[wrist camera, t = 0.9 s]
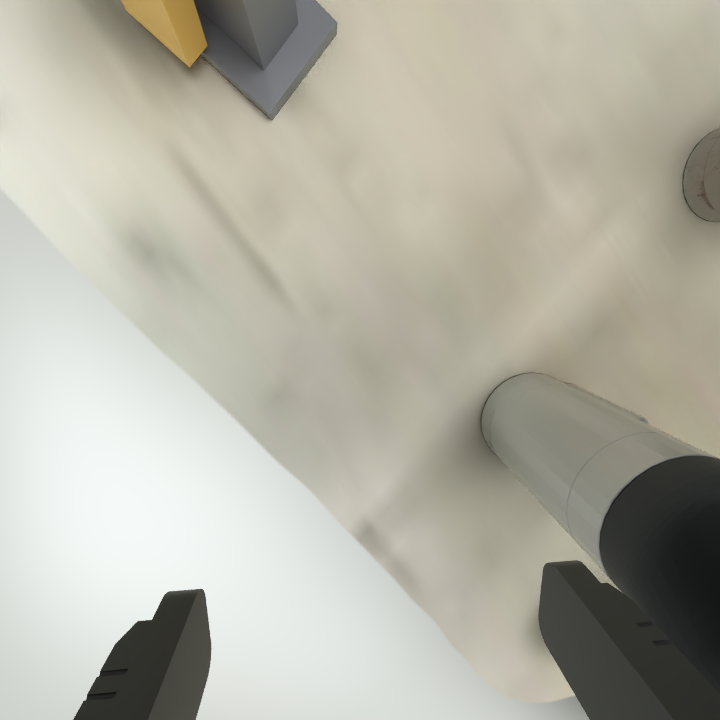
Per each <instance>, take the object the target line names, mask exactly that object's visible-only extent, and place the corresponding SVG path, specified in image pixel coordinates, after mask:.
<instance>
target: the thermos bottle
mask: <svg viewBox="0 0 720 720" xmlns="http://www.w3.org/2000/svg"><path fill="white" fill-rule="evenodd" d="M683 188H684V194H685V198H686V200H687V203H688V205H689V207H690V208H691V209H692V210H693V212H694V213H696V214H697V215H698V216H699V217H701V218H703V219H705V220H708V221H714V222H720V128H719V129H717V130H715V131H713V132H711V133H710V134H708V135H707V136H706V137H704V138H703V139H702V141H701V142H700V143H699V144H698V145H697V146H696V147H695V149H694V150H693V152H692V153H691V155H690V157H689V160H688V162H687V165H686V168H685V171H684V179H683Z"/></svg>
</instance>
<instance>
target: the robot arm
mask: <svg viewBox="0 0 720 720" xmlns="http://www.w3.org/2000/svg"><path fill="white" fill-rule="evenodd" d="M481 425H482V433H483V436H484V438H485V441H486V442H487V444H488V445H489V447H490V448H491V449H492V451H493V452H494V453H495V454H496V455H497V456H498V457H499V458H500V459H501V460H502V461H503V463H504V464H505V465H506V466H507V467H508V468H509V469H510V470H511V471H512V473H513V474H514V475H515V476H516V477H517V478H518V479H519V480H520V481H521V482H522V483H523V485H524V486H525V487H526V488H527V489H528V490H529V491H530V492H531V493H532V494H533V495H534V497H535V498H536V499H537V500H538V501H539V502H540V503H541V504H542V505H543V506H544V507H545V509H546V510H547V511H548V512H549V513H550V514H551V515H552V516H553V517H554V518H555V519H556V521H557V522H558V523H559V524H560V525H561V526H562V527H563V528H564V529H565V530H566V531H567V533H568V534H569V535H570V536H571V537H572V538H573V539H574V540H575V541H576V542H577V543H578V545H579V546H580V547H581V548H582V549H583V550H584V551H585V552H586V553H587V554H588V555H589V556H590V557H591V558H592V560H593V561H594V562H595V563H596V564H597V565H598V566H599V567H600V568H601V569H602V570H603V572H604V573H605V574H606V575H607V576H608V577H609V578H610V579H611V580H612V581H613V583H614V584H615V585H616V586H617V587H618V588H619V589H620V590H621V592H620V591H619V590H617V589H616V588H614V587H613V586H611V585H610V584H608V583H600V582H599V581H598V580H597V578H596V577H595V576H594V575H593V574H592V573H591V572H590V571H589V569H588V568H587V567H586V566H585V565H584V564H583V563H582V562H580V561H564V562H551V563H546V564H545V566H544V568H543V576H542V585H541V595H540V605H539V625H540V630H541V633H542V636H543V639H544V641H545V644H546V646H547V648H548V649H549V651H550V653H551V654H552V656H553V658H554V660H555V661H556V663H557V665H558V666H559V668H560V670H561V671H562V673H563V675H564V676H565V678H566V680H567V682H568V683H569V685H570V687H571V688H572V690H573V692H574V693H575V695H576V697H577V699H578V700H579V702H580V703H581V705H582V707H583V709H584V710H585V712H586V714H587V716H588V717H589V719H590V720H720V459H719V458H717V457H714V456H712V455H710V454H708V453H706V452H704V451H702V450H700V449H698V448H696V447H694V446H692V445H690V444H688V443H686V442H684V441H681V440H679V439H677V438H675V437H673V436H671V435H669V434H667V433H665V432H663V431H660V430H658V429H656V428H654V427H652V426H650V425H649V423H648V421H647V420H646V419H645V418H644V417H642V416H639V415H637V414H635V413H633V412H631V411H629V410H627V409H625V408H622V407H620V406H618V405H616V404H614V403H612V402H610V401H608V400H605V399H603V398H601V397H599V396H597V395H595V394H593V393H590V392H588V391H586V390H584V389H582V388H580V387H578V386H576V385H573V384H565V383H562V382H560V381H558V380H556V379H554V378H552V377H550V376H547V375H544V374H538V373H526V374H521V375H518V376H514V377H512V378H510V379H509V380H507V381H505V382H504V383H502V384H501V385H500V386H499V387H497V388H496V389H495V391H494V392H493V393H492V394H491V395H490V397H489V399H488V400H487V402H486V404H485V407H484V410H483V413H482V421H481ZM210 660H211V639H210V630H209V622H208V614H207V606H206V597H205V593H204V590H203V589H196V590H184V591H170V592H167V593H166V594H165V595H164V597H163V599H162V601H161V603H160V605H159V607H158V609H157V611H156V613H155V615H154V617H153V619H152V620H147V621H138V622H137V623H136V624H135V625H134V626H133V627H132V628H131V629H130V630H129V631H128V632H127V633H126V634H125V635H124V636H123V637H122V638H121V639H120V640H119V641H118V642H117V643H116V644H115V646H114V647H113V649H112V651H111V653H110V655H109V656H108V658H107V660H106V662H105V664H104V665H103V667H102V669H101V671H100V676H99V677H97V678H96V680H95V682H94V683H93V685H92V687H91V689H90V691H89V692H88V694H87V699H86V701H83V703H82V705H81V707H80V709H79V710H78V712H77V714H76V716H75V718H74V720H196V716H197V713H198V709H199V706H200V702H201V699H202V695H203V692H204V688H205V685H206V681H207V677H208V673H209V668H210Z"/></svg>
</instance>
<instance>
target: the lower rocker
mask: <svg viewBox="0 0 720 720" xmlns="http://www.w3.org/2000/svg"><path fill="white" fill-rule="evenodd" d="M121 1H122V3H123V5H124V7H125V9H126V11H127V12H129V13H130V14H131V15H132V16H133V17H134V18H135V19H136V20H137V21H138V22H140V23H141V24H142V25H143V26H144V27H145V28H146V29H147V30H148V31H150V32H151V33H152V34H153V35H154V36H155V37H156V38H157V39H158V40H159V41H161V42H162V43H163V44H164V45H165V46H166V47H167V48H168V49H169V50H171V51H172V52H173V53H174V54H175V55H176V56H177V57H178V58H179V59H180V60H182V61H183V62H184V63H185V64H186V65H187V66H188V67H189V68H190V67H191V65H192V64H193V63H194V62H195V60H196V59H197V58H198V57H199V56H200V54H201V53H202V52H203V51H204V50H205V48H206V47H207V42H206V39H205V36H204V32H203V29H202V26H201V23H200V19H199V16H198V13H197V10H196V6H195V3H194V0H121Z"/></svg>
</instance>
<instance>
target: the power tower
mask: <svg viewBox="0 0 720 720" xmlns="http://www.w3.org/2000/svg"><path fill="white" fill-rule="evenodd" d="M194 3H195V6H196V10H197V13H198V16H199V19H200V23H201V26H202V29H203V32H204V36H205V39H206V42H207V47H206V48H205V50H204V51H203V52H202V53H201V54H200V55H201V56H202V57H203V58H205V59H206V60H207V61H208V62H209V63H210V64H211V65H212V66H213V67H214V68H215V69H217V70H218V71H219V72H220V73H221V74H222V75H223V76H224V77H225V78H226V79H227V80H229V81H230V82H231V83H232V84H233V85H234V86H235V87H236V88H237V89H238V90H239V91H240V92H242V93H243V94H244V95H245V96H246V97H247V98H248V99H249V100H250V101H251V102H252V103H254V104H255V105H256V106H257V107H258V108H259V109H260V110H261V111H262V112H263V113H264V114H266V115H267V116H268V117H269V118H270V119H271V120H273V119H274V117H275V116H276V115H277V113H278V112H279V111H280V109H281V108H282V107H283V105H284V104H285V103H286V101H287V100H288V98H289V97H290V96H291V94H292V93H293V92H294V90H295V89H296V88H297V86H298V85H299V84H300V82H301V81H302V80H303V78H304V77H305V76H306V74H307V73H308V72H309V70H310V69H311V68H312V66H313V65H314V64H315V62H316V61H317V60H318V58H319V57H320V56H321V54H322V53H323V52H324V50H325V49H326V48H327V46H328V45H329V44H330V42H331V41H332V40H333V38H334V37H335V36H336V34H337V22H336V21H335V20H334V19H333V18H332V17H331V16H330V15H329V14H328V13H327V12H326V11H325V9H324V8H323V7H322V6H321V5H320V4H319V3H318V2H317V1H316V0H194Z"/></svg>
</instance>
